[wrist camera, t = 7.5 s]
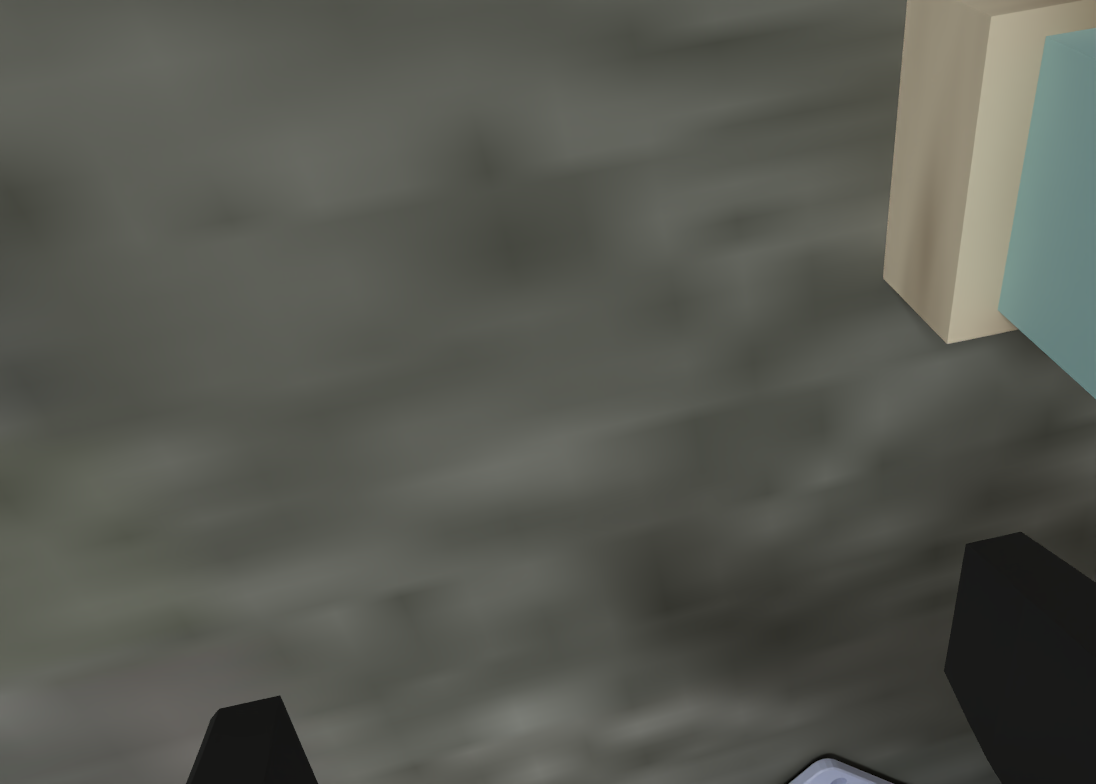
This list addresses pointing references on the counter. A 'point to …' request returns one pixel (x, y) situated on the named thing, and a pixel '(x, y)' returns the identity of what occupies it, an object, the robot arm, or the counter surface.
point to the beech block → (964, 152)
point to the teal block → (1058, 213)
